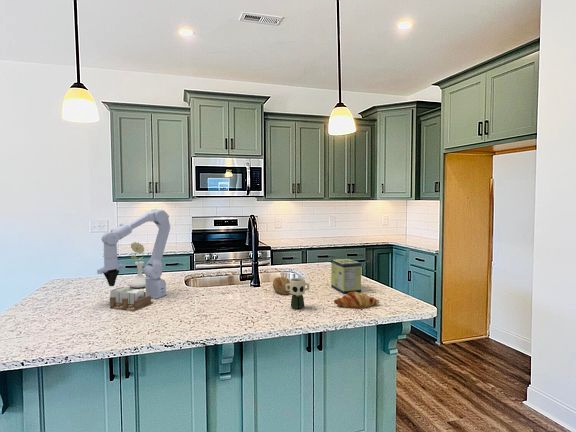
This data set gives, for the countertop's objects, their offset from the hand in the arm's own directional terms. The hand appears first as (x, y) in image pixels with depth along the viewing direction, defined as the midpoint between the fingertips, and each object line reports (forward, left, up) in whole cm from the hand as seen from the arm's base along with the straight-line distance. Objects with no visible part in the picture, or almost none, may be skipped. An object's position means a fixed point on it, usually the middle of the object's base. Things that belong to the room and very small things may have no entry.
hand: (111, 285), depth 178 cm
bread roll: (-70, -44, -9) cm, 83 cm away
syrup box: (0, -1, -4) cm, 4 cm away
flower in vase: (+10, -30, -9) cm, 33 cm away
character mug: (-86, -21, -9) cm, 89 cm away
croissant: (-111, -32, -9) cm, 116 cm away
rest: (-12, 0, -8) cm, 14 cm away
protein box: (-101, -59, -9) cm, 117 cm away
